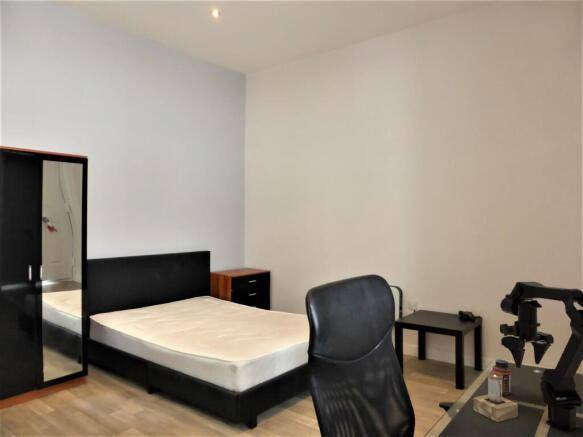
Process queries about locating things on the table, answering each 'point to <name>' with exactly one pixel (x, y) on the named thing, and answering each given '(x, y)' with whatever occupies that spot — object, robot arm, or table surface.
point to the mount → (496, 408)
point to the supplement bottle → (504, 375)
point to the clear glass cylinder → (495, 387)
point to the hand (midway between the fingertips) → (527, 365)
